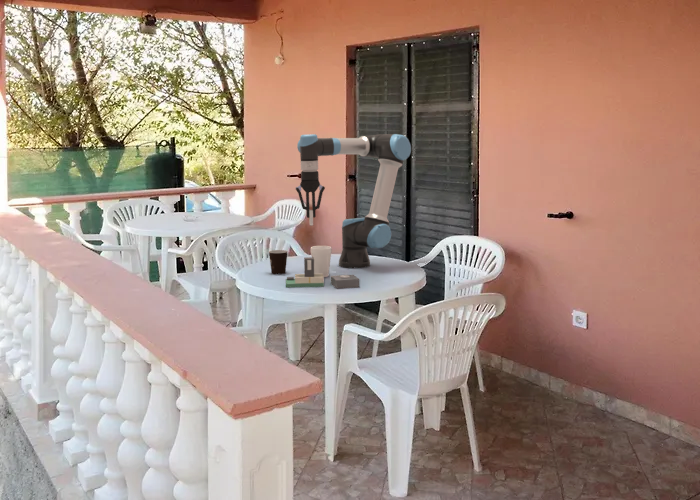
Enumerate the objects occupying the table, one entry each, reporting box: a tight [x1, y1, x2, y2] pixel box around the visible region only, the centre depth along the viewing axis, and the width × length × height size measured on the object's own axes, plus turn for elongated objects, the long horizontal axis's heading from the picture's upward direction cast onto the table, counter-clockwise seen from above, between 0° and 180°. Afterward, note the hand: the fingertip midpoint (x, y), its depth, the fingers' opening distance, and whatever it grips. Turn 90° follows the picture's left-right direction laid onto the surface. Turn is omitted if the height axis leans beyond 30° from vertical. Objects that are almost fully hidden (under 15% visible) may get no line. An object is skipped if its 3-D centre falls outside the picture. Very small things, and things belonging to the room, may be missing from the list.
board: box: [285, 276, 325, 288], centre depth 323 cm, size 16×11×2 cm
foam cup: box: [310, 245, 333, 278], centre depth 340 cm, size 10×9×13 cm
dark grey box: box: [330, 274, 360, 290], centre depth 320 cm, size 10×10×4 cm
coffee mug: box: [268, 249, 288, 275], centre depth 349 cm, size 12×9×10 cm
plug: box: [303, 256, 314, 277], centre depth 320 cm, size 4×5×10 cm
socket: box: [294, 273, 325, 284], centre depth 321 cm, size 12×8×2 cm, turn 95°
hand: (311, 225), depth 328 cm, fingers closed
